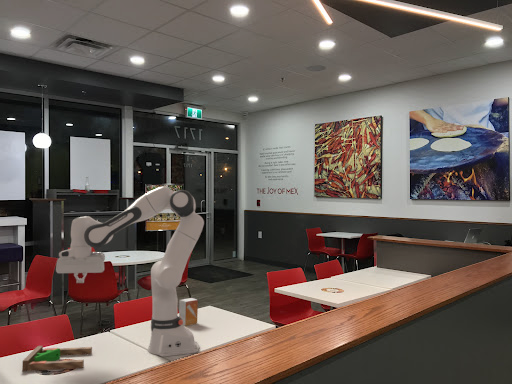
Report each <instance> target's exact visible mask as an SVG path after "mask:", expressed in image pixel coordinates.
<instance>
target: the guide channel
mask: <svg viewBox="0 0 512 384" xmlns="http://www.w3.org/2000/svg"><path fill="white" fill-rule="evenodd" d="M43 346H44V345H38V346H36V347H35V348H34V349H33V350H32V351H30V353H28V355H26V357H25V358H24V359H23V360H22V368H21V369H22V372H32V371H33V372H35V371H36V372H37V371H51V370H67V369H69V370H70V369H82V368H84V365H85V360H84V359H69V360H67V359H66V360H57V361H49V362H46V361H35V362H34V357H36V356H37V353H45V352H46V350H55V349H58V347H52V348H51V347H50V348H49V347H48V348H44V347H43ZM59 349H60V357H64V356H65V357H66V356H67V357H69V356H86V355H87V354H88V355H91V354H92V352H93V347H92V346H86V347H85V346H84V347H80V346H79V347H66V348H65V347H63V348H61V347H60V348H59Z"/></svg>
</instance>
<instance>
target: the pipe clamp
mask: <svg viewBox="0 0 512 384" xmlns="http://www.w3.org/2000/svg"><path fill="white" fill-rule="evenodd" d="M57 348H58V347H57ZM56 360H57V361H60V360H61V356H60V349H59V348H58V349H55V350H46V352H45V353H37V356H36V357H34V362H35V361H46V362H49V361H56Z"/></svg>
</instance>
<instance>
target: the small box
mask: <svg viewBox="0 0 512 384" xmlns="http://www.w3.org/2000/svg"><path fill="white" fill-rule="evenodd" d="M178 300H179V301H178V302H179V304H178V309H179V311H178V317H181V318H182V320H183V324H182V325H183V326H184V327H187V326H192V325H195V324H196V323H197V324H198V314H199V313H198V307H199V306H198V305H199V304H198V303H199V301H198V299H197V298H193V297H190V298H184V299H183V298H182V299H178ZM197 324H196V325H197Z"/></svg>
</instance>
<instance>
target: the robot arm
mask: <svg viewBox="0 0 512 384" xmlns="http://www.w3.org/2000/svg"><path fill="white" fill-rule="evenodd" d="M165 210H171V212H173V213H174V214H175V215H176V216H178V217H179V218H180V220H179V223H178V226H177V227H176V229H175V230H174V233H173V234H172V236H171V237H170V240H169V241H168V243H167V245H166V249H165V253H164V255H163V257H162V259H161V260H158V261H156V262H154V264H152V267H151V268H150V282H151V283H150V284H151V285H150V286H151V296H152V297H151V298H152V308H151V309H152V310H151V311H152V315H151V318H150V319H151V320H150V331H151V335H150V340H149V345H148V348H147V352H149V353H150V354H153V355H158V356H159V357H163V358H164V357H171V356H172V357H173V356H180V355H189V354H196V353H197V352H198V351H199V350H200V344H199V342H198V341H196V340H195V336H194V333H193V332H192V331H191V330H190V329H189V328H187V326H184V325H182V324H183V320H182V318H181V317H179V315H178V314H179V311H178V309H179V304H178V302H179V301H178V300H179V299H178V295H177V287H178V286H180V283H181V282H182V277H183V273H184V271H185V270H186V269H185V268H186V265H187V263H188V261H189V258H190V256H191V253H192V252H193V250H194V248H195V246H196V244H197V242H198V240H199V238H200V236H201V233H202V232H203V228H204V225H205V220H204V219H203V217H202V216H201V215H200V214H198V213H196V210H197V203H196V199H195V198H194V196H193V195H192V194H191V193H190V192H189V191H188V190H186V189H179V190H176V191H174V192H173V191H172V190H171V189H170V188H169V187H168V186H166V185H162V186H159V187H156V188H155V189H153V190H152V189H151V190H150V191H148V192H147V193H144V194H143V195H141V196H140V197H138V198H137V199H136V200H135V201H133V202H132V203H131V204H130V205H129V206H128V207H127V208H126V209H124V211H122V212H121V213H119V214H117V215H115V216H114V217H112V218H110V219H108V220H107V221H105V222H100V221H97V220H95V219H94V218H92V217H91V216H89V215H88V216H87V215H85V216H80V217H79V216H78V217H75V218H74V219H73V220H72V221H71V227H70V239H71V241H70V242H71V243H70V247H69V248H68V249H65V250H62V251H59V253H58V259H57V261H56V264H55V265H56V267H55V272H56V273H57V274H73V276H74V278H75V280H76V284H84V283H85V279H86V277H87V275H88V273H90V274H91V273H93V274H96V273H97V274H98V273H99V274H100V273H104V271H105V261H106V255H105V253H103V252H102V251H92V249H93V248H94V249H95V248H96V249H97V248H102V247H103V246H105V245H107V244H108V243H109V242H111V241H112V240H113V239H114V234H117V233H118V232H119V231H121V230H123V229H125V228H126V227H128V226H130V225H132V224H137V223H139V222H144V221H147V220H148V219H151V218H153V217H155V216H157V215H159V214H160V213H161V212H163V211H165ZM79 274H82V276H83V277H82V278H81V277H80V278H79V276H78V275H79Z"/></svg>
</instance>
